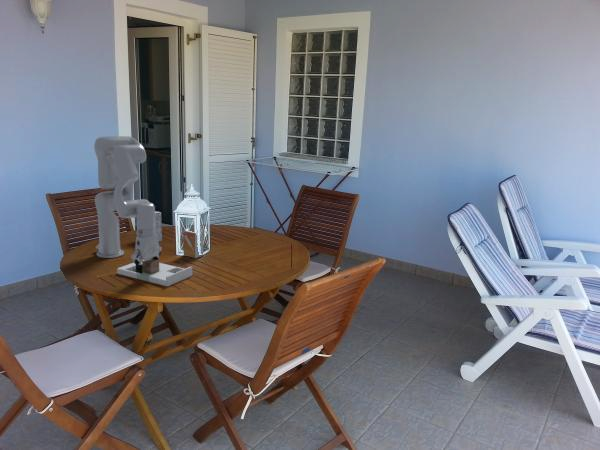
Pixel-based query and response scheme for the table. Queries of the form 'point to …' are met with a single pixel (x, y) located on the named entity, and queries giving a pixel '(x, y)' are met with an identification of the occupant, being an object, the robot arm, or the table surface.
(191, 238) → the small box
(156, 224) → the candy bar box
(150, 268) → the walnut block
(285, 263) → the table surface
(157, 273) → the deck
